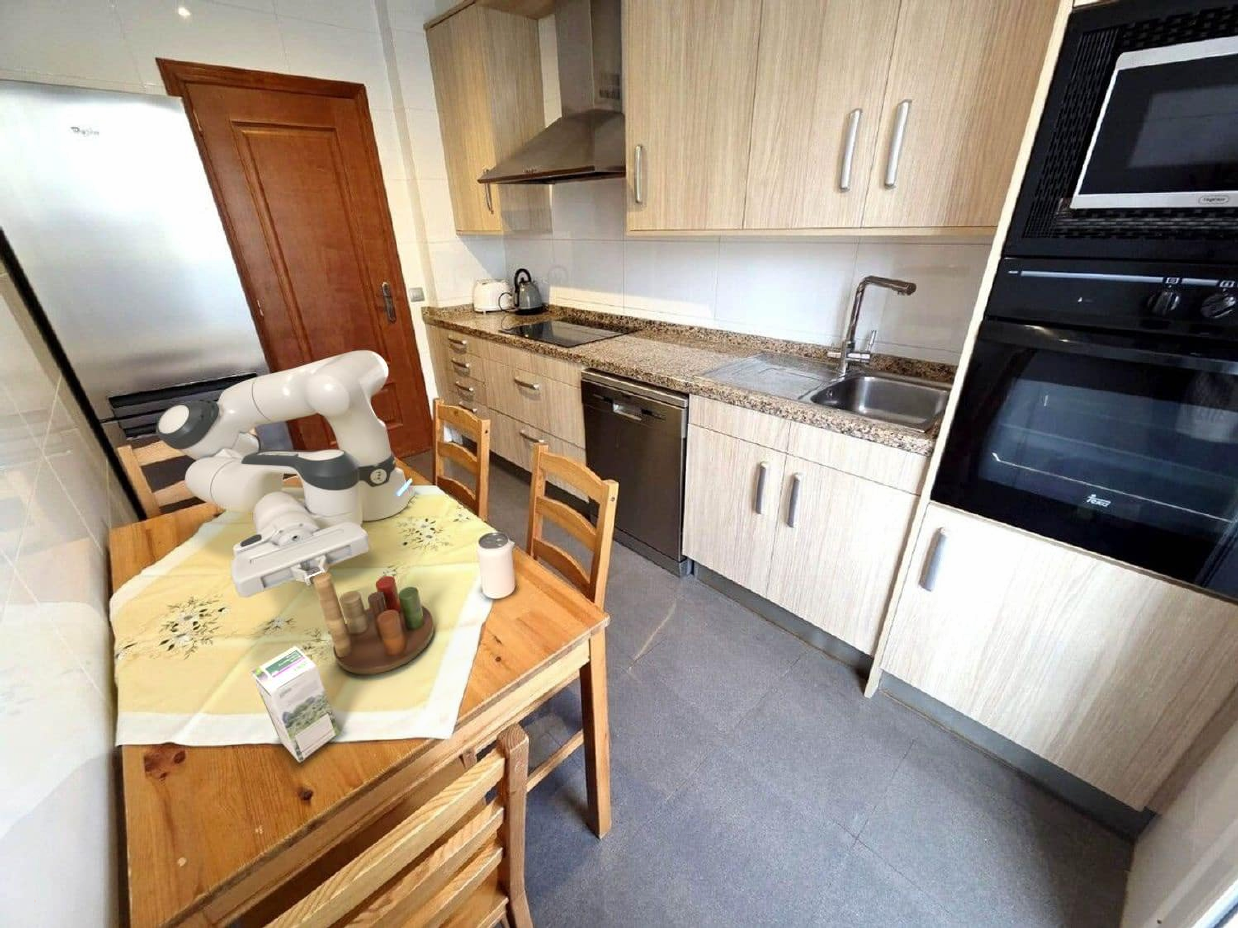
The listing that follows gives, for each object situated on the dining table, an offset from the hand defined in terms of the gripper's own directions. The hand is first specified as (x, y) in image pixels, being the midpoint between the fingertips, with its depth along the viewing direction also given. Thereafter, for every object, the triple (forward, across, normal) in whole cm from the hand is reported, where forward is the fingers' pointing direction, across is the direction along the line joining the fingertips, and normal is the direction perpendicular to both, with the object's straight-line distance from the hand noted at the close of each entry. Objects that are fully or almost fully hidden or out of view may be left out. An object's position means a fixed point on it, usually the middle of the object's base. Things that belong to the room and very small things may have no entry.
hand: (316, 579), depth 81 cm
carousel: (+4, -7, -14) cm, 16 cm away
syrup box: (+16, +8, -15) cm, 23 cm away
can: (+5, -29, -15) cm, 33 cm away
